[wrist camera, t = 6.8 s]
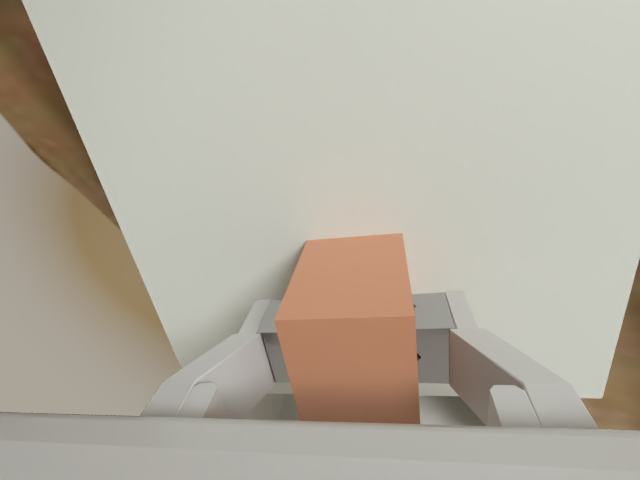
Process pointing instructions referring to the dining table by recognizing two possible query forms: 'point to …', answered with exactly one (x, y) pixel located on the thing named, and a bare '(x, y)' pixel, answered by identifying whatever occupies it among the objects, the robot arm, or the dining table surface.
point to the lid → (366, 175)
